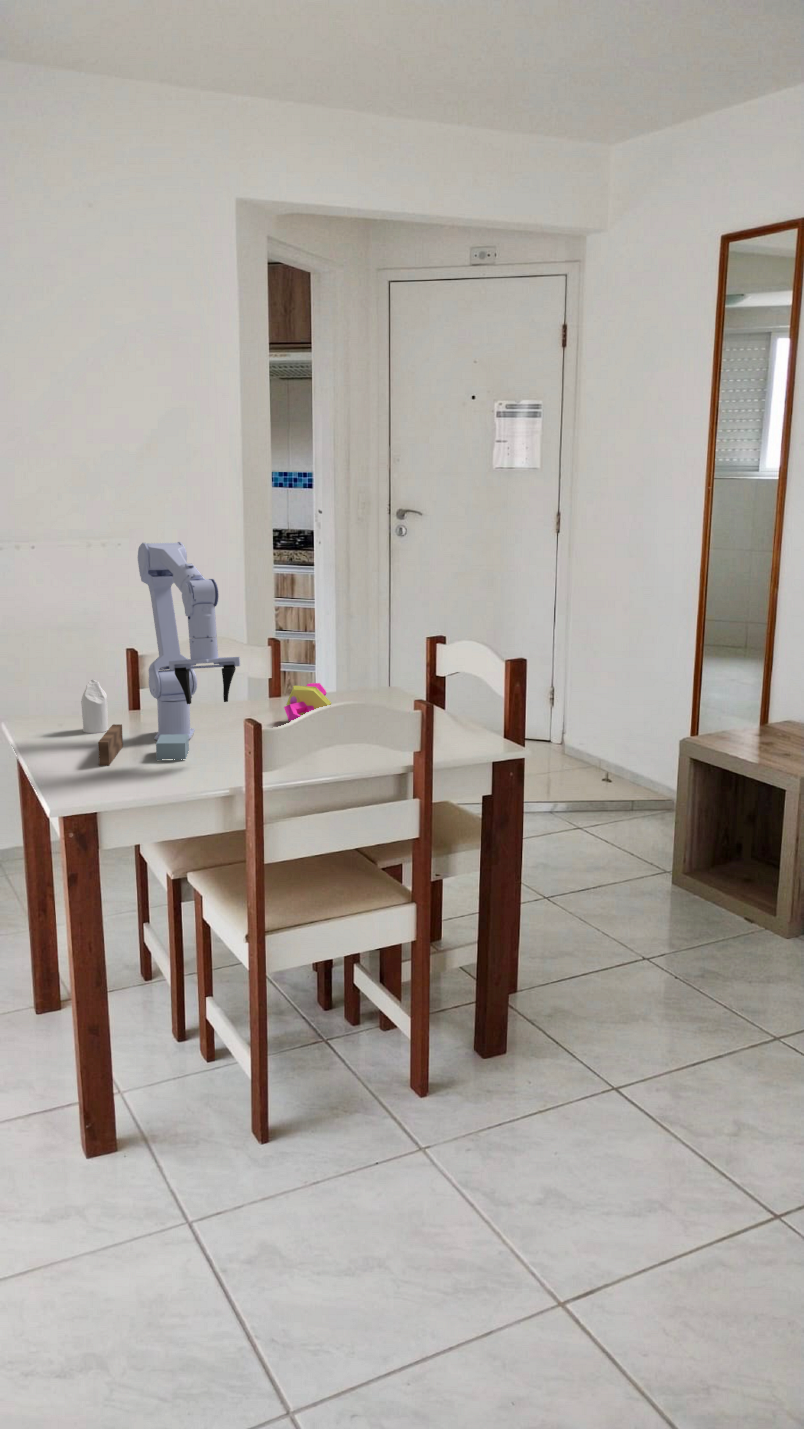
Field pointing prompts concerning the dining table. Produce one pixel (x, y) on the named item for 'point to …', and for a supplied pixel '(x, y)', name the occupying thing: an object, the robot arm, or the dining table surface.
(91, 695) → the crumpled white cylinder
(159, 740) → the slate block
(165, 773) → the dining table surface
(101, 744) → the walnut board
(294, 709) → the toy
